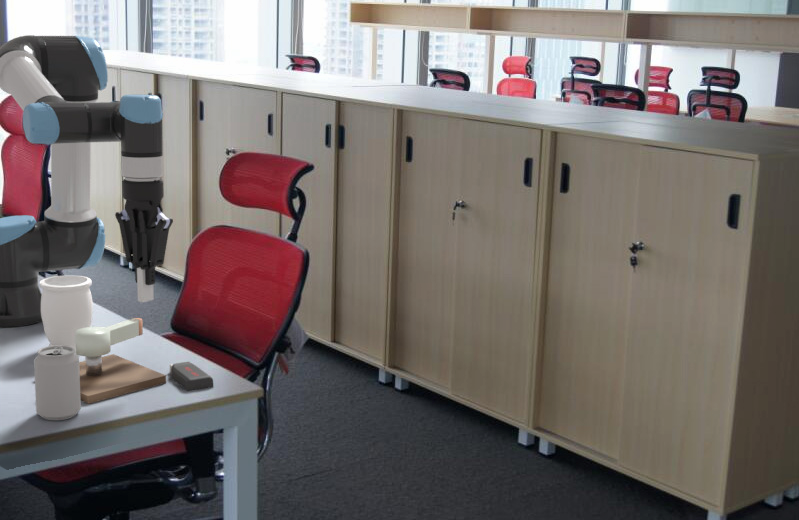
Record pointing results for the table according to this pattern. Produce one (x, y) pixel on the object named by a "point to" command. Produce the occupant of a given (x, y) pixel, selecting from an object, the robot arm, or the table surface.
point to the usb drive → (190, 376)
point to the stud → (93, 365)
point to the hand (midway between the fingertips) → (145, 300)
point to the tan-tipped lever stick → (105, 337)
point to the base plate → (116, 379)
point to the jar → (65, 308)
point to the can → (57, 382)
